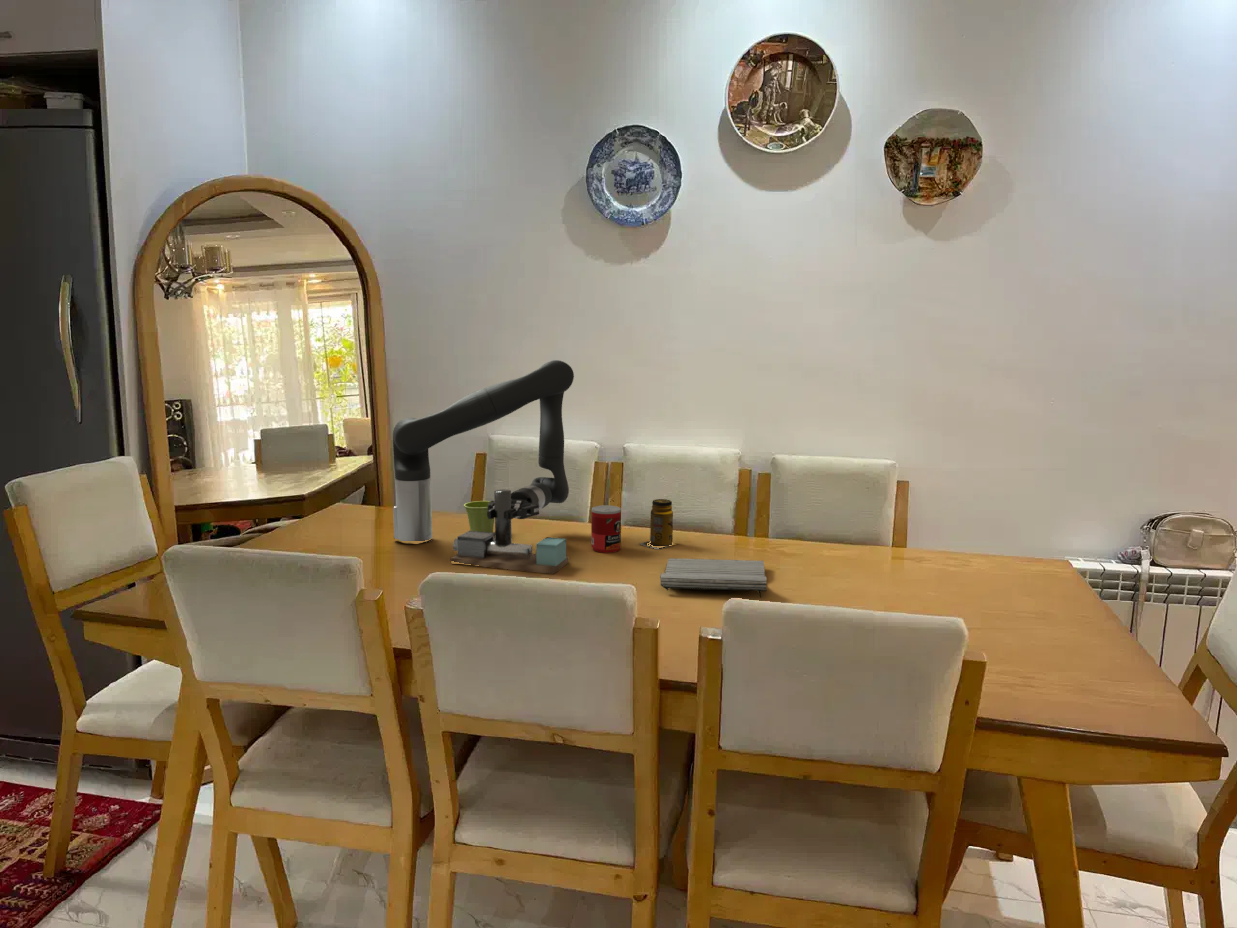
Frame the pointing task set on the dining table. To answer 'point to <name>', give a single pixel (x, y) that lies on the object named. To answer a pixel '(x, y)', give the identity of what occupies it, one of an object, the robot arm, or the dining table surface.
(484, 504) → the plant pot
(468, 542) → the sleeve
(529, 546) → the slide bolt
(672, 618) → the dining table surface
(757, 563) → the mat
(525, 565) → the board
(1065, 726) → the dining table surface
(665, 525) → the condiment
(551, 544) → the socket block
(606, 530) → the canned food
